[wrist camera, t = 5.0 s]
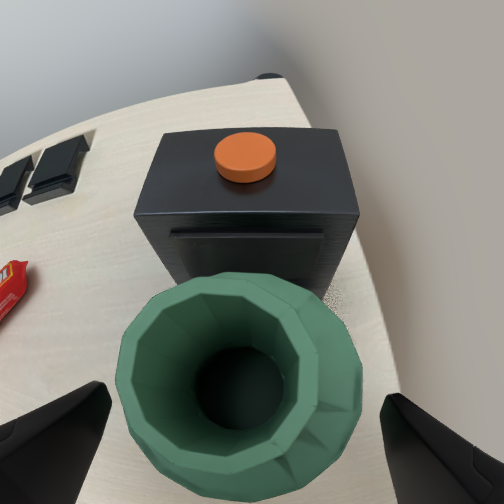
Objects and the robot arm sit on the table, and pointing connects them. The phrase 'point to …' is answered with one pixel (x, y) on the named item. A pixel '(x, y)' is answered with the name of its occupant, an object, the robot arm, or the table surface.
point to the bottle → (239, 385)
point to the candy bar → (12, 285)
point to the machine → (250, 204)
